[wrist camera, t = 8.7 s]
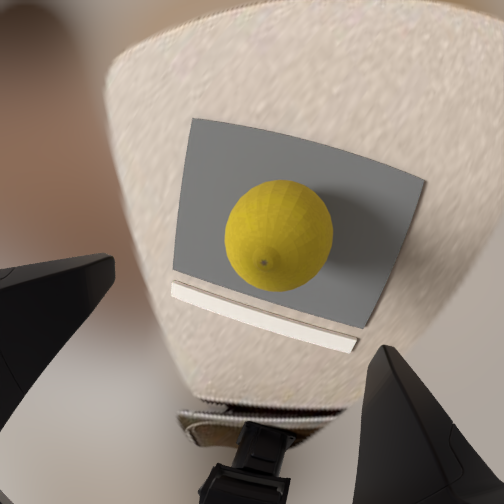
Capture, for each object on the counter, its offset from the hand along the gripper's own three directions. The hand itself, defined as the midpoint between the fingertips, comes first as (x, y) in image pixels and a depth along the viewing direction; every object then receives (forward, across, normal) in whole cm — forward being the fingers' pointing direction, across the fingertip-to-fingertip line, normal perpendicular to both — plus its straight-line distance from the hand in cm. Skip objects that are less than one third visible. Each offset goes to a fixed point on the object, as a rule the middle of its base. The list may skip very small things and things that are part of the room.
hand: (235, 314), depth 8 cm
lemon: (+12, 0, 0) cm, 12 cm away
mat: (+12, 0, +1) cm, 12 cm away
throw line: (+12, 0, +9) cm, 15 cm away
